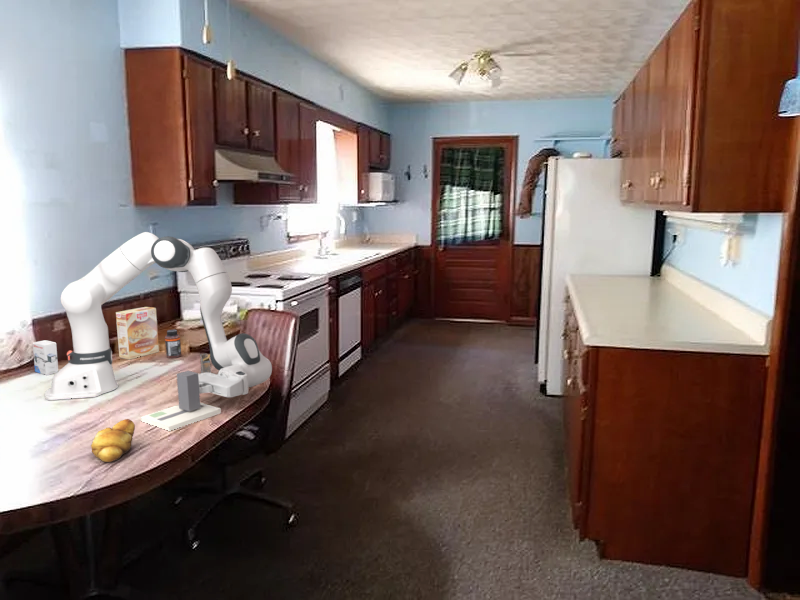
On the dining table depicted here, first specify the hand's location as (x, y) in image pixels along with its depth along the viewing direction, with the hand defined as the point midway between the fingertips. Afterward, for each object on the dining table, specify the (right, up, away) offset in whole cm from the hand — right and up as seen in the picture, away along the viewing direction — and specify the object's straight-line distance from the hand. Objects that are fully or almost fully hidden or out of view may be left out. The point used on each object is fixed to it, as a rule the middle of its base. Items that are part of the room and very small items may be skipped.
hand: (194, 390), depth 187 cm
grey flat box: (-9, -1, +40) cm, 41 cm away
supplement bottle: (-31, +4, +68) cm, 75 cm away
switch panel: (-3, -8, -3) cm, 9 cm away
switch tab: (-1, -5, -1) cm, 5 cm away
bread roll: (-11, -12, -29) cm, 34 cm away
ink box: (-72, 0, +46) cm, 86 cm away
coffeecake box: (-47, +5, +71) cm, 86 cm away
